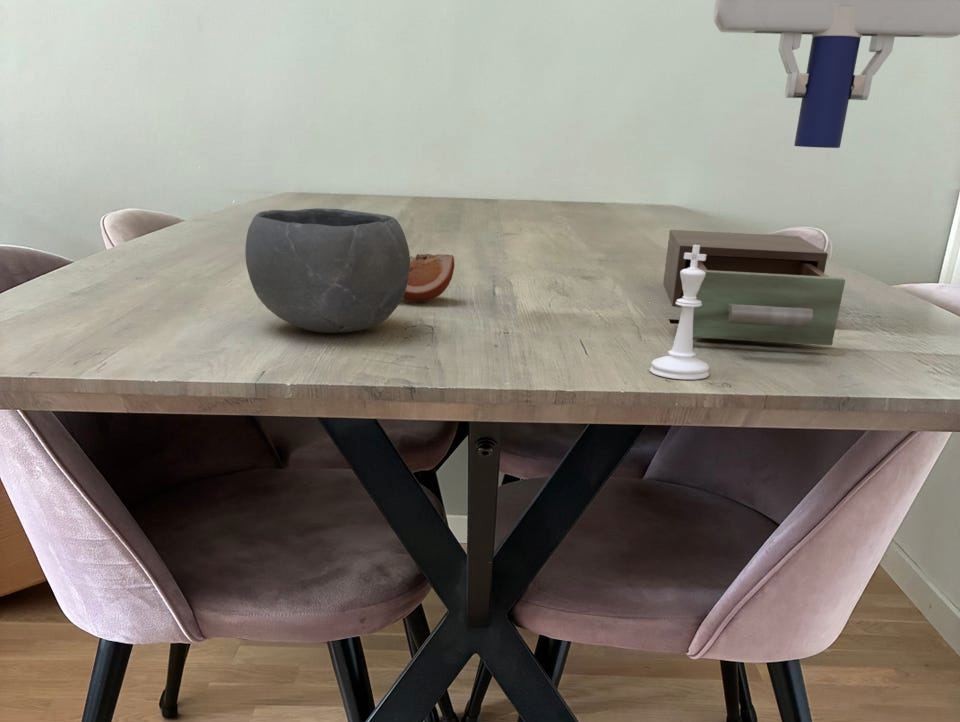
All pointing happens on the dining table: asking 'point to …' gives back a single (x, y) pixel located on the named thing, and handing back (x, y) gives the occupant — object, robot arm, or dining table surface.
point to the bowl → (328, 267)
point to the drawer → (766, 301)
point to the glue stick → (829, 82)
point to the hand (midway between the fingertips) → (825, 99)
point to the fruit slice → (428, 276)
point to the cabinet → (732, 252)
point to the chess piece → (685, 328)
